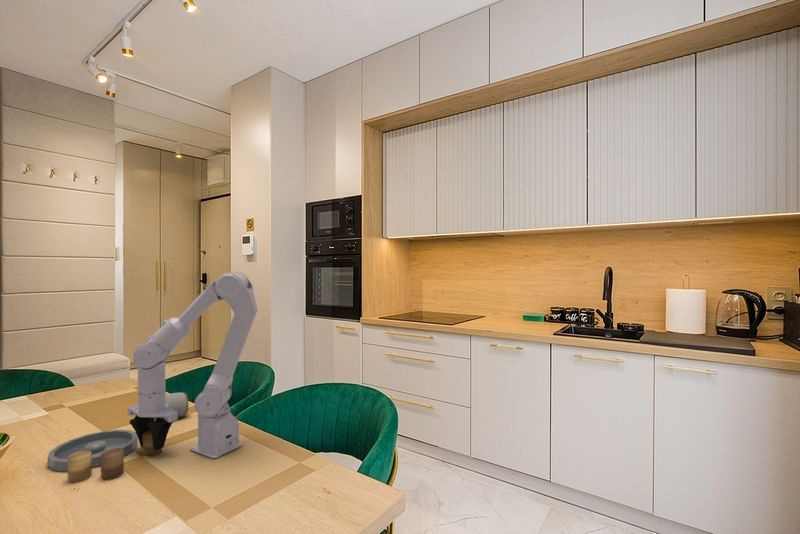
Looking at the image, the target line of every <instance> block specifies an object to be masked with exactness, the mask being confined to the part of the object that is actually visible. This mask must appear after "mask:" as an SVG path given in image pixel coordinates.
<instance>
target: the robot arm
mask: <svg viewBox="0 0 800 534" xmlns="http://www.w3.org/2000/svg"><path fill="white" fill-rule="evenodd" d="M223 300H224V302H226V303H227V304H228V305H229V307H230V308H231V310H232V312H233V313H234V315H233V317H232V320H231V322H230V325H229V328H228V330H227V333H226V335H225V338H224V341H223V344H222V346H221V349H220V351H219V354H218V357H217V360H216V361H215V364H214V367H213V370H212V372H211V375H210V376H209V378H208V380H207V381H206V384H205V386H204V388H203V390H202V391H201V392H200V393H199V394H198V395H197V396H196V398H195V400H194V408H195V411H196V413H197V432H198V433H197V439H198V440H197V441H198V442H197V445H195V446H192V447H190V448H189V449H190V451H191V452H195V453H196V454H200V455H203V456H204V457H208V458H210V459H214V460H215V459H216V458H219V457H221V456H224V455H225V454H228V453H229V452H232V451H233V450H236V449H238V448H240V447H242V446H243V444H242V443H241V442H240V428H239V427H240V426H239V420H238V418H237V417H235V416H234V415H233V413H232V412H231V407H230V404H229V400H230V398H231V397H232V393H233V392H232V383H233V381H234V377H233V376H234V374H235V372H236V371H235V370H236V369H237V365H238V364H239V360H240V357H241V355H242V352H243V349H244V347H245V344H246V342H247V339H248V336H249V333H250V331H251V328H252V325H253V323H254V321H255V318H256V314H257V312H258V306H257V302H256V297H255V294H254V285H253V284H252V282H251V280H250V279H249V278H248V277H247V275H246V274H243V273H242V272H232V273H231V272H225V273H222V274H221V275H219V276H218V277H217V278H216V280H214V281H212V282H211V283H209V284H208V285H207V286H206V287H205V289H204V290H203V291H202V292H201V293H200V294H199V295H198V296H197V297H196V298H195V299H194V300H193V302H191V303H190V305H189V306H188V307H186V309H185V310H184V311H183V312H182V313H181V314H180V315H179V317H171V318H169V319H165V320H163V321H162V322H161V324H160V325H161V327H160V328H159V329H158V330H156V332H155V333H154V334H153V335H149V336H148V337H147V338H146V341H147V343H143V344H140V345H138V346H137V347H136V349H135V350H134V351H133V354H132V360H133V363H134V364H135V366H137V404H134V405H129V406H128V407H127V416H133V415H134V418H132V419H130V420H129V424H130V425H131V427H132V428H133V430H134V432H136V434H137V437H138V442H139V443H138V444H140V445H139V446H140V448H141V449H143V433H144V432H146V431H149V430H151V433H152V438H153V447H154V450H159V449H161V448H162V449H163V448H165V444H166V440H167V437H168V434H169V431H170V429H171V427H172V425H173V423H174V422H175V421H178V419H179V418H178V412H177V411H173V410H171V409H170V408H168V407H169V404H166V394H167V393H166V360H168V357H169V356H170V353H171V352H172V351H173V350H175V348H176V347H177V346H178V345H180V344H181V342H182V341H183V340H184V339H186V337H187V336H189V334H190V330H191V329H190V327H191V325H192V323H194V322H195V321H196V320H197V319H198V318H199V317H200V316H201V315H203V314H204V313H205V312H206V311H207V310H208V309H209V308H210V307H211V306H212V305H213V304H215V303H217V302H220V301H223ZM155 418H156V421H155Z"/></svg>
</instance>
